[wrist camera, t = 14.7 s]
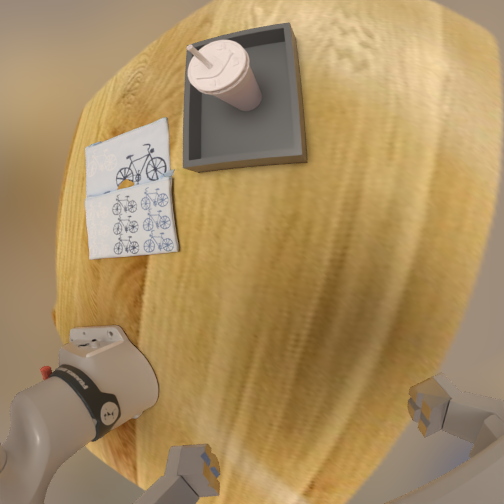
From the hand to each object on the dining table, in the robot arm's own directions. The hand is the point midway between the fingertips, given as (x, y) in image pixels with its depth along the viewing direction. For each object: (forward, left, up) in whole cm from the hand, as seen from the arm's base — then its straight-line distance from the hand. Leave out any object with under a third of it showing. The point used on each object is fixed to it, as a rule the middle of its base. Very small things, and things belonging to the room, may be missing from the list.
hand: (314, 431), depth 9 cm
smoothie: (-10, +24, -24) cm, 35 cm away
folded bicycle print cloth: (-30, +14, -26) cm, 42 cm away
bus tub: (-10, +24, -25) cm, 36 cm away
